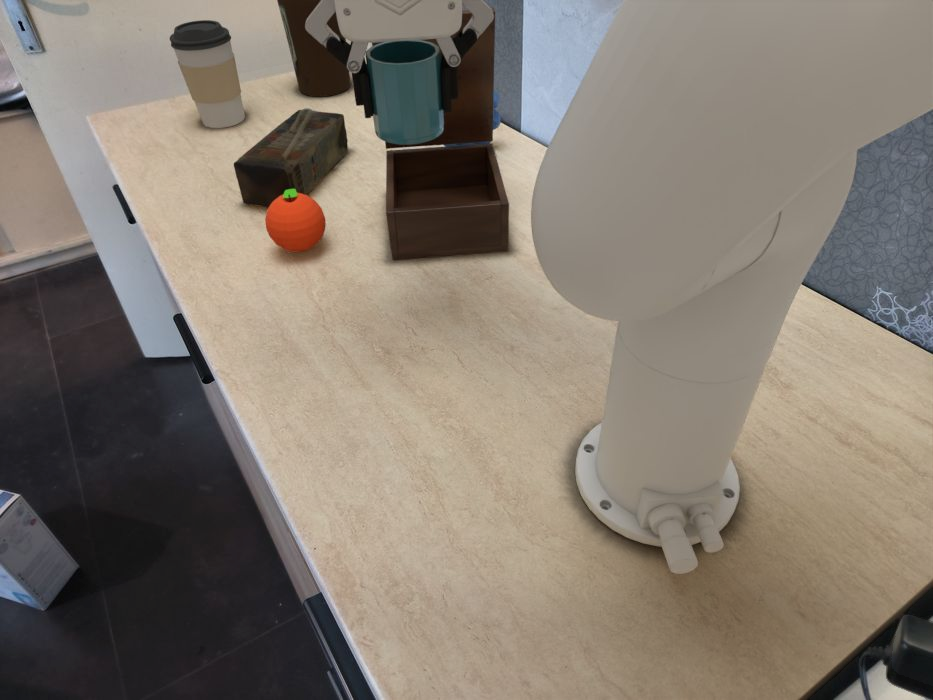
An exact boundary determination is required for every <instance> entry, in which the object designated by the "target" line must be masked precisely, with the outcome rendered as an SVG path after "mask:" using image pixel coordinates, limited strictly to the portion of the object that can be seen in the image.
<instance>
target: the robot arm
mask: <svg viewBox="0 0 933 700" xmlns="http://www.w3.org/2000/svg"><path fill="white" fill-rule="evenodd" d="M463 6H464V8H465V9H466V10H469V11H470V12H471V13H472V17H471V19H470V20H469V22H468V24H467V25H466V26H464V27H463V28H462V29H461V30H460V31H459V29H460V27H461V23H462V10H463ZM335 12H336V15H337V21H338V26H339V29H340V32H341V34H342V36H343V37H344V38H346V41H345V40H344V39H343V38H342V37H340V36H339V35H338V34H336V33H334V32H333V31H332V30H331V28H329V26H328V25H327V22H328V20H329V19H330V18H331V17H332V15H333V14H334V13H335ZM493 19H494V14H493V11H492V9H491V7H490V6H489V5H488V4H487V3H486V2H485V1H484V0H321V1H320V2H319V4H318V5H317V6H316V8H315V9H314V10H313V11H312V13H311V14H310V15H309V17H308V18H307V20H306V23H305V29H306V31H307V32H308V33H309V34H310V35H312V36H313V37H314V38H315V39H316V40H317V41H318V42H319V43H321V44H322V45H323V46H325V47H326V48H327V50H328V51H329V52H330V53H331V54H332V55H333V56H334V57H336V58H337V59H338V60H339V61H340V62H342V63H343V64H344V65H345V66H346V67H347V69H348V70H349V73H350V74H351V80H352V86H353V93H354V100H355V105H356V107H357V106H358V107H359V106H363V111H364V118H365V119H371V118H372V117H373V109H372V101H371V93H370V85H369V77H368V71H367V63H366V51H367V50H368V47H369V44H372V43H375V42H393V41H410V40H425V39H436V41H437V43H438V45H439V47H440V49H441V51H442V53H441V55H442V56H441V79H442V99H443V111H446V113H451V99H458V82H457V66H458V65H459V64H460V61H461V59H462V58H463V56H464V55H465V54H466V53H467V52H468V51H469V50H470V48H471V47H472V46H473V45H474V44H475V43H476V41H477V38H478V37H479V36H480V35H481V34H482V33H483V32H484V31H485V29H486V28H487V27H488V26H489V25H490V23H491V22H492V21H493ZM458 31H459V33H458V34H457V35H456V36H455V37H454V38H453V36H452V35H453V34H455V33H456V32H458ZM347 40H348V41H350V43H349V42H348V41H347ZM931 111H933V0H622V2H621V4H620V6H619V7H618V10H617V11H616V13H615V15H614V17H613V19H612V21H611V23H610V25H609V27H608V29H607V30H606V32H605V35H604V37H603V39H602V41H601V42H600V44H599V47H598V48H597V50H596V52H595V54H594V56H593V58H592V60H591V62H590V64H589V66H588V68H587V70H586V71H585V74H584V75H583V77H582V79H581V81H580V84H579V86H578V88H577V89H576V91H575V93H574V95H573V97H572V99H571V101H570V103H569V105H568V107H567V108H566V111H565V113H564V115H563V116H562V119H561V121H560V123H559V125H558V127H557V128H556V130H555V132H554V134H553V136H552V138H551V141H550V142H549V145H548V147H547V148H546V151H545V153H544V156H543V158H542V161H541V162H540V165H539V169H538V172H537V174H536V177H535V182H534V186H533V191H532V198H531V208H530V226H531V236H532V241H533V246H534V250H535V254H536V256H537V259H538V262H539V265H540V267H541V269H542V271H543V274H544V276H545V277H546V279H547V280H548V282H549V284H550V285H551V287H552V288H553V289H554V290H555V291H556V292H557V293H558V294H559V296H561V297H562V298H563V299H564V300H565V301H566V302H567V303H569V304H570V305H572V306H573V307H574V308H576V309H578V310H579V311H582V312H584V313H585V314H587V315H590V316H592V317H595V318H598V319H602V320H607V321H611V322H617V326H616V331H615V338H614V344H613V345H614V346H613V349H612V356H611V363H610V369H609V375H608V382H607V387H606V393H605V401H604V407H603V414H602V420H601V422H599V423H598V424H597V425H595V426H594V427H593V428H592V429H590V431H589V432H588V433H587V434H586V435H585V436H584V438H583V439H582V440H581V443H580V445H579V446H578V449H577V453H576V459H575V469H574V474H575V481H576V487H577V489H578V492H579V494H580V496H581V498H582V500H583V501H584V503H585V504H586V505H587V508H588V509H589V510H590V511H591V513H593V514H594V516H595V517H596V518H597V519H598V520H599V521H600V522H601V523H603V524H604V525H605V526H607V527H608V528H609V529H611V530H612V531H613V532H616V533H618V534H619V535H621V536H623V537H625V538H626V539H629V540H633V541H635V542H638V543H641V544H644V545H649V546H655V547H659V548H662V552H663V555H664V557H665V560H666V563H667V565H668V568H669V570H670V571H669V572H671V573H672V574H676V575H684V574H688V573H691V572H692V571H694V570H695V569H697V568H698V566H699V561H698V557H697V555H696V553H695V551H694V548H693V545H696V544H698V543H701V545H702V548H703V550H704V552H706V553H710V554H711V553H716V552H719V551H721V550H722V549H723V548H724V547H725V543H724V541H723V539H722V536H721V533H720V532H721V531H722V530H723V529H724V528H725V527H726V526H727V525H728V524H729V522H730V520H731V519H732V517H733V515H734V513H735V511H736V508H737V505H738V503H739V499H740V489H741V485H740V478H739V474H738V471H737V469H736V467H735V463H734V461H733V460H732V456H733V453H734V451H735V448H736V445H737V443H738V440H739V437H740V435H741V432H742V430H743V427H744V425H745V422H746V420H747V417H748V414H749V412H750V408H751V406H752V404H753V401H754V399H755V395H756V392H757V390H758V388H759V385H760V382H761V380H762V376H763V375H764V373H765V371H766V367H767V364H768V361H769V360H770V357H771V356H772V353H773V350H774V348H775V345H776V342H777V340H778V338H779V335H780V332H781V330H782V328H783V325H784V322H785V320H786V317H787V315H788V313H789V310H790V309H791V306H792V304H793V302H794V299H795V297H796V295H797V293H798V291H799V289H800V287H801V285H802V284H803V282H804V280H805V279H806V276H807V274H808V272H809V271H810V269H811V267H812V266H813V264H814V262H815V261H816V259H817V257H818V255H819V254H820V251H822V249H823V246H824V245H825V243H826V241H827V239H828V238H829V236H830V234H831V233H832V230H833V229H834V228H835V225H836V223H837V221H838V219H839V217H840V216H841V213H842V211H843V208H844V206H845V204H846V201H847V199H848V197H849V194H850V191H851V189H852V188H851V187H852V185H853V181H854V178H855V173H856V166H857V160H858V159H857V157H858V150H860V149H862V148H863V147H865V146H867V145H869V144H870V143H872V142H874V141H876V140H878V139H880V138H882V137H884V136H886V135H887V134H889V133H891V132H893V131H895V130H897V129H899V128H901V127H903V126H904V125H906V124H908V123H910V122H912V121H914V120H915V119H918V118H919V117H921V116H923V115H925V114H926V113H929V112H931Z"/></svg>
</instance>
